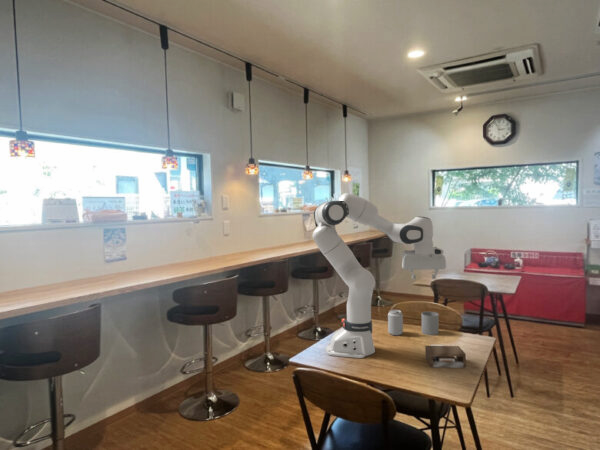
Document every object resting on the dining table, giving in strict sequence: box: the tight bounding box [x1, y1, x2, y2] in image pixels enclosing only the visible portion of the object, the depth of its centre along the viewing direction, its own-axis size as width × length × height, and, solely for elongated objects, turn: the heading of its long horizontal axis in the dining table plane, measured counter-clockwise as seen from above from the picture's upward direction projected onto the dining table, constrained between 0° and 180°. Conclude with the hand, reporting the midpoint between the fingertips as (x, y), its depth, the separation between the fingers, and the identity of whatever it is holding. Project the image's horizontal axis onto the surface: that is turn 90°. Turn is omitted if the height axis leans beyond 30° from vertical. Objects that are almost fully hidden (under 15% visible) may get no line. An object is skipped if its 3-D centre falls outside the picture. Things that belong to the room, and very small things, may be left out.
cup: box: [420, 311, 440, 336], centre depth 198 cm, size 8×8×10 cm
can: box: [387, 309, 404, 337], centre depth 198 cm, size 8×8×12 cm
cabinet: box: [424, 345, 467, 369], centre depth 160 cm, size 14×10×6 cm
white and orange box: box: [429, 344, 456, 361], centre depth 165 cm, size 6×16×3 cm, turn 174°
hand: (423, 278), depth 184 cm, fingers open, 8 cm apart
